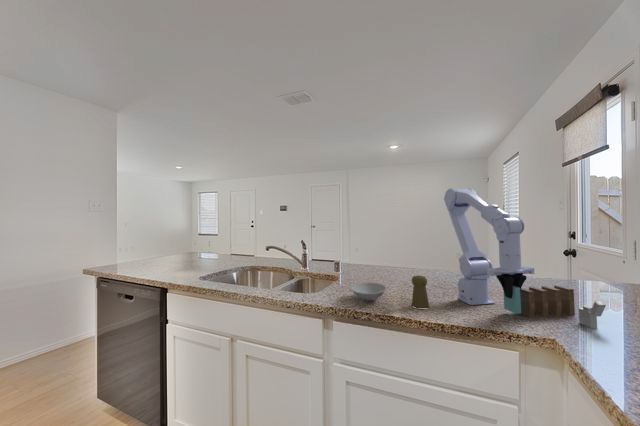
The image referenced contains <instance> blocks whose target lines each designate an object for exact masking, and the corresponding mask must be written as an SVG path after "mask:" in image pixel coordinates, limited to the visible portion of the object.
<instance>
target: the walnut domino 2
mask: <svg viewBox="0 0 640 426" xmlns="http://www.w3.org/2000/svg"><path fill="white" fill-rule="evenodd" d="M528 290H531V291H534V308H535V315H536V314H537V315H539V316H541V317H542V318H543V317H549V313H548V299H547V290H543V289H542V288H540V287H536V286H528Z"/></svg>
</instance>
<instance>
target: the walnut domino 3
mask: <svg viewBox="0 0 640 426" xmlns="http://www.w3.org/2000/svg"><path fill="white" fill-rule="evenodd" d="M541 289H543V290H547V299H548V314H552V315H554V316H557V317H559V316H562V315H563V314H562V313H563V312H562V311H561V292H560V290H559V289H555V288H554V287H552V286H548V285H541Z"/></svg>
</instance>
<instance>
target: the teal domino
mask: <svg viewBox="0 0 640 426" xmlns="http://www.w3.org/2000/svg"><path fill="white" fill-rule="evenodd" d="M502 290H503V289H502ZM503 306H504V307H503V308H504V309H505V310H506V311H509V312H511V313H514V314H516V315H519V314H521V300H520V288H519V287H516V286H513V295H512V298H508V297H506V296H505V293H504V290H503ZM521 315H522V314H521Z"/></svg>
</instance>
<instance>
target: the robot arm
mask: <svg viewBox="0 0 640 426" xmlns="http://www.w3.org/2000/svg"><path fill="white" fill-rule="evenodd" d="M443 200H444V203H445V206H446V209H447V211H448V214H449V217H450V220H451V222H452V226H453V228H454V232H455V234H456V237H457V239H458V242H459V245H460V248H461V251H462V254H461V255H460V257H459V259H458V262H459V271H460V272H461V274H462V275H463V277H461V278H459V280H458V284H457V285H458V287H457V288H458V297H457V300H460V301H461V302H463V303H465V304H467V305H469V306H474V305H486V304H487V305H491V304H495V303H496V302H495V301H492V300H490V299H489V279H490V277H496V278H497V280H498V281H499V283H500V285H501V287H502V290H504V292H503V294H504V293H505V296H506V297H508V298H512V295H513V286H516V287H519V288H520V290H521V288H523V284H524V283H525V281H526V280H527V275H528V274H530V275H535V267H532V266H531V267H530V266H522V253H521V234H522V233H523V232H524V230H525V223H524V222H523V219H521V217H519V216H511V215H510V214H509V213H508V212H505V211H503V210H502V209H501V208H500V205H498V204H488V203H487V202H485V201H484V200H483V199H482V198H481V197H480V196H479V195H477V192H476V190H473V188H470V187H468V188H448V189H447V190H446V192H445V193H444V198H443ZM471 207H472V208H474V209H475V210H477V211H478V212H479V213H480V217H481V218H482V219H484V220H485V221H486V222H487V223H488V224H490V225H491V226H492V227H493V231H494V233H495V235H496V239H497V241H498V259H499V267H494V266H493V263H492V262H491V261H490V260H489V258H488V257H487V256H488V255H486V253H484V252H482V251H480V250H479V248H478V246H477V243H476V241H475V237H474V234H473V232H472V230H471V227H470V225H469V223H468V219H467V217H466V212H468V210H469V209H470V208H471ZM526 274H527V275H526Z"/></svg>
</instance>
